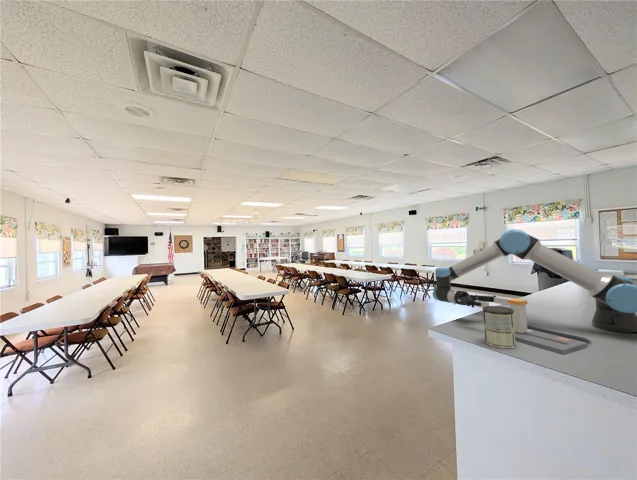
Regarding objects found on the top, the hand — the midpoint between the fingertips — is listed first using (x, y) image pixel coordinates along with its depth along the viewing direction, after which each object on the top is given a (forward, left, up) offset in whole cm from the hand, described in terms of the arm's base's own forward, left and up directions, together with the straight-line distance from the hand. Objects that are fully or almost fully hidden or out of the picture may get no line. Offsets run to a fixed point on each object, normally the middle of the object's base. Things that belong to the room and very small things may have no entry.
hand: (498, 303), depth 120 cm
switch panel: (-9, +11, -12) cm, 19 cm away
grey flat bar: (-19, +3, -12) cm, 23 cm away
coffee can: (+6, +19, -13) cm, 23 cm away
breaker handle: (-5, +6, -11) cm, 13 cm away
